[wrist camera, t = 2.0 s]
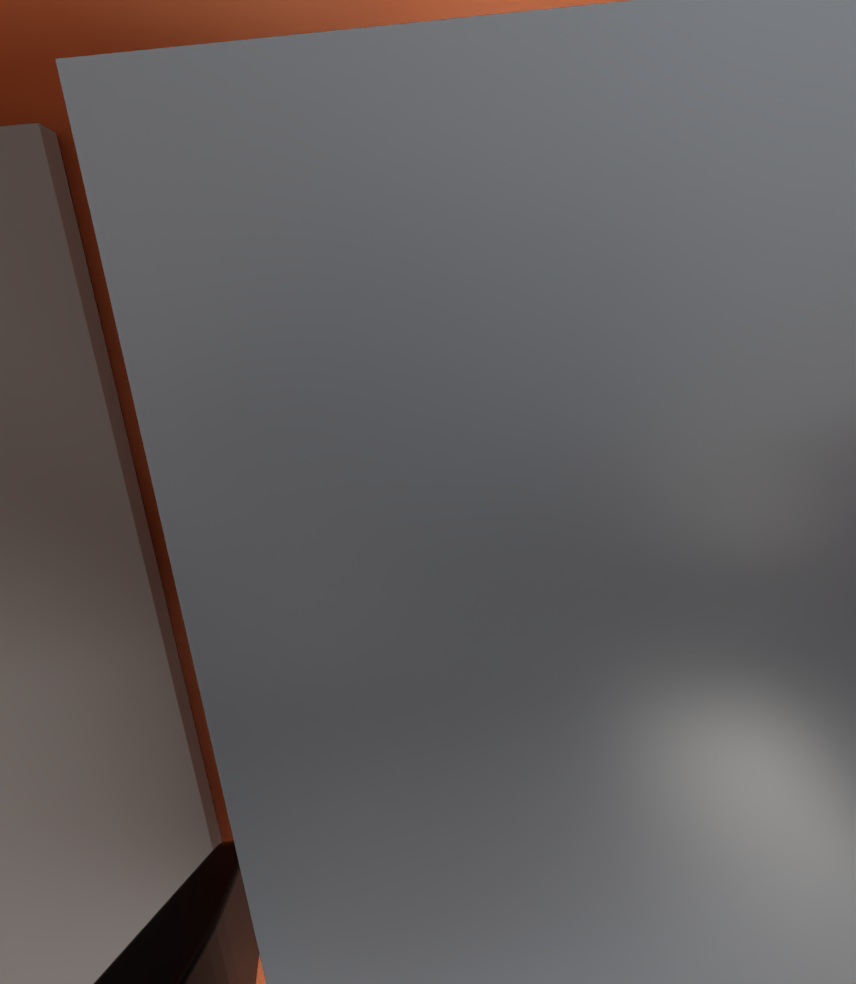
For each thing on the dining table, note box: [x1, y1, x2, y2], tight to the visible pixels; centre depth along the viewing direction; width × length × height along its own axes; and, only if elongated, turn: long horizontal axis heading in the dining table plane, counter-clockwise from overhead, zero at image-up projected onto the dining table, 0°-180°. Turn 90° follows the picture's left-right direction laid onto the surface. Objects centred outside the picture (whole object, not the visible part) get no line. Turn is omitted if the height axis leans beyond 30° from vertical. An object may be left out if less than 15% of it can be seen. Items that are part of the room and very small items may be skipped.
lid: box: [55, 0, 856, 984], centre depth 7 cm, size 7×16×2 cm, turn 6°
